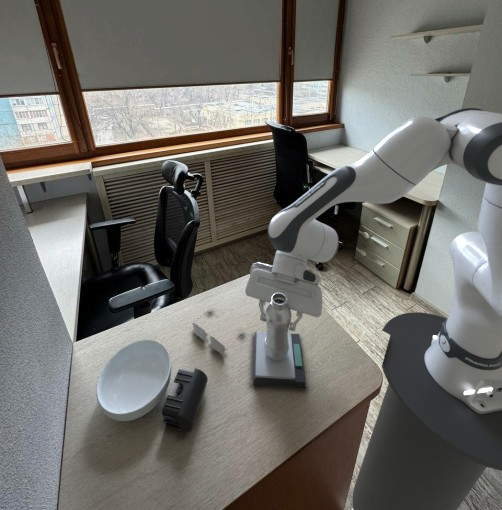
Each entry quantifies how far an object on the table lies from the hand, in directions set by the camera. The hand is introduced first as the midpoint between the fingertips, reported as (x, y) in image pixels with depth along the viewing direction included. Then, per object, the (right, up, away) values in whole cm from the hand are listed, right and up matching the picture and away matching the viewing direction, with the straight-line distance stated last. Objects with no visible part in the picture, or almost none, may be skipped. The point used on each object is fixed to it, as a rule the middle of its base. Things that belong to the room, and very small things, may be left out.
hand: (277, 325), depth 68 cm
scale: (+1, -13, +6) cm, 14 cm away
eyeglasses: (-17, -10, +14) cm, 24 cm away
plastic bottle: (0, -10, +5) cm, 12 cm away
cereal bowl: (-35, -16, -1) cm, 38 cm away
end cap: (-22, -17, -4) cm, 28 cm away
